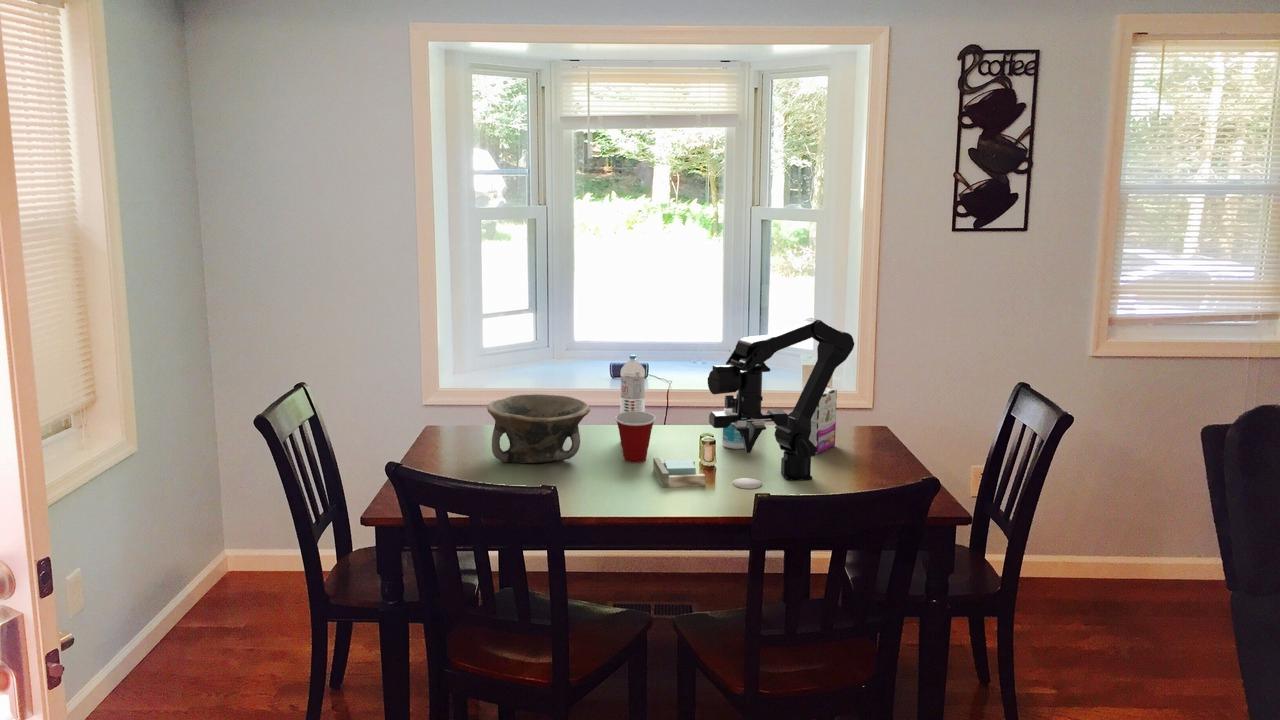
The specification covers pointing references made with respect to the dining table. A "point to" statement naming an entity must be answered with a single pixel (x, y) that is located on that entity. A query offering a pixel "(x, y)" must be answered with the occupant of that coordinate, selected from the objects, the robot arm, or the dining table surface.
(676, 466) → the block
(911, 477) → the dining table surface
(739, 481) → the pad
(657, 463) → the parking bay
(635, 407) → the water bottle
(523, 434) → the bowl
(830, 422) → the candy bar box
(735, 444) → the pill bottle
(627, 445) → the plastic cup
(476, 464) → the dining table surface
